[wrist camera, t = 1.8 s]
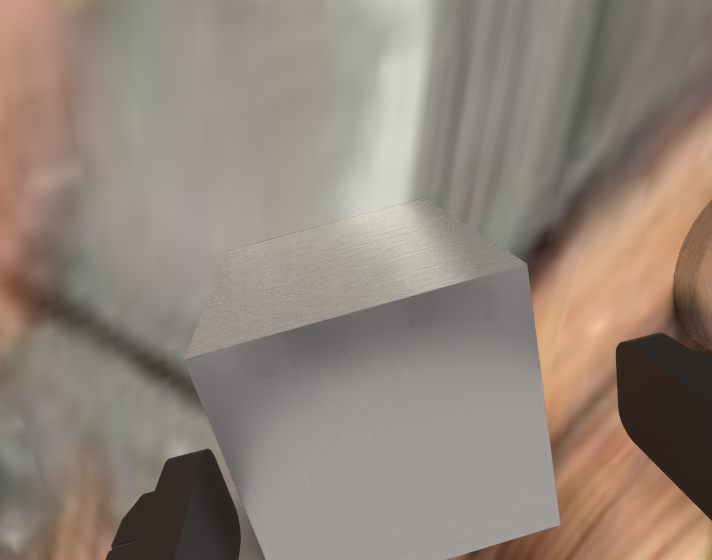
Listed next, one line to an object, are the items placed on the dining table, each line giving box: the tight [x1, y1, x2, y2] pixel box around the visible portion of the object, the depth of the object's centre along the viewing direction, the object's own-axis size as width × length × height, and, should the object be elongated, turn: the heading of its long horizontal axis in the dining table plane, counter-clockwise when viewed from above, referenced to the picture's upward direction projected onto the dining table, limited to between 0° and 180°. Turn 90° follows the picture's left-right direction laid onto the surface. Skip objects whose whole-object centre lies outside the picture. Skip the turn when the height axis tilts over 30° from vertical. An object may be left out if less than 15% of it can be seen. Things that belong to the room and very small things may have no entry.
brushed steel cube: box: [184, 198, 560, 560], centre depth 12 cm, size 6×6×7 cm
